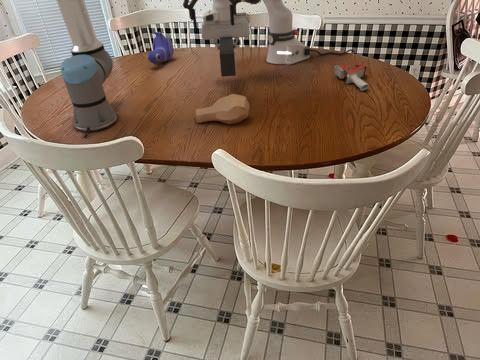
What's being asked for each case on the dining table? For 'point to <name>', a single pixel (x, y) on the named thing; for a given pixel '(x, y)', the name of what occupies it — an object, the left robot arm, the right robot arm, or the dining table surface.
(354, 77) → the tape dispenser
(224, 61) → the bar
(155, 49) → the toy
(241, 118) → the squash
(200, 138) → the dining table surface
